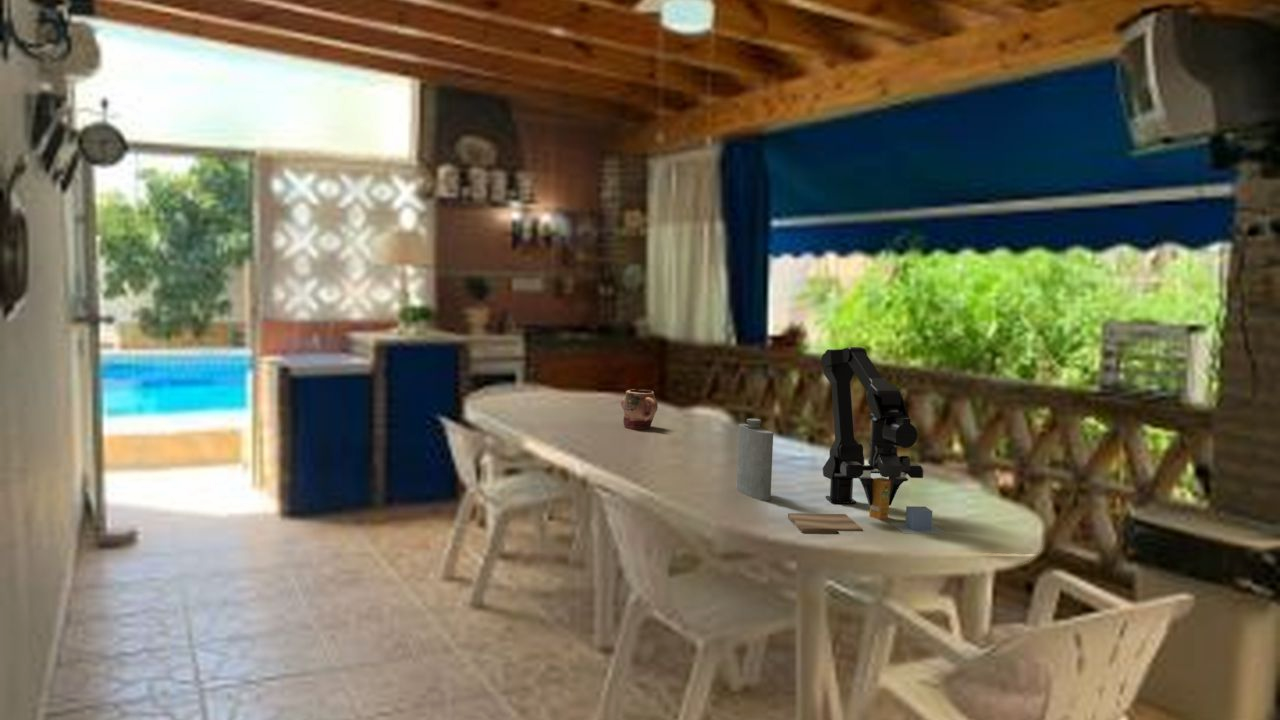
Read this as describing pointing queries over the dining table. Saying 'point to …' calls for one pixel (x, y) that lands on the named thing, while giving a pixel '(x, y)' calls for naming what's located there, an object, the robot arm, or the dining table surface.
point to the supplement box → (880, 498)
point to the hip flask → (754, 460)
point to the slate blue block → (918, 518)
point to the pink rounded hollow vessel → (639, 408)
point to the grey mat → (906, 530)
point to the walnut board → (823, 523)
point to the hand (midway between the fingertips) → (879, 505)
